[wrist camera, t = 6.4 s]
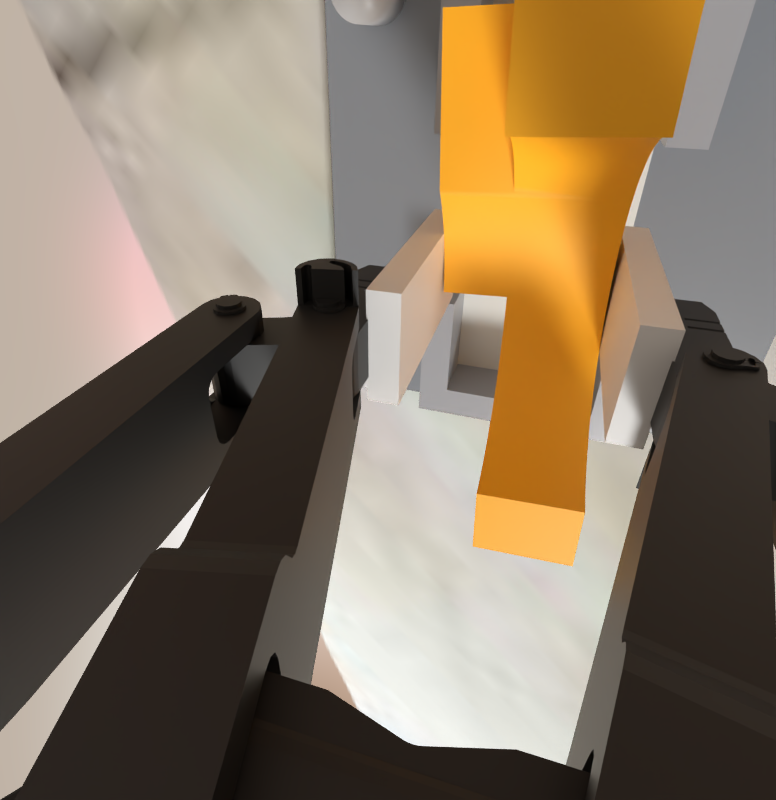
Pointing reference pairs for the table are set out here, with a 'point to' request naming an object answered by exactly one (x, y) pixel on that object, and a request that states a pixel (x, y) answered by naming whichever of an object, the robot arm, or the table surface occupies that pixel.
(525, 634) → the table surface
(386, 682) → the table surface
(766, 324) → the chassis
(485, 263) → the orange bracket
